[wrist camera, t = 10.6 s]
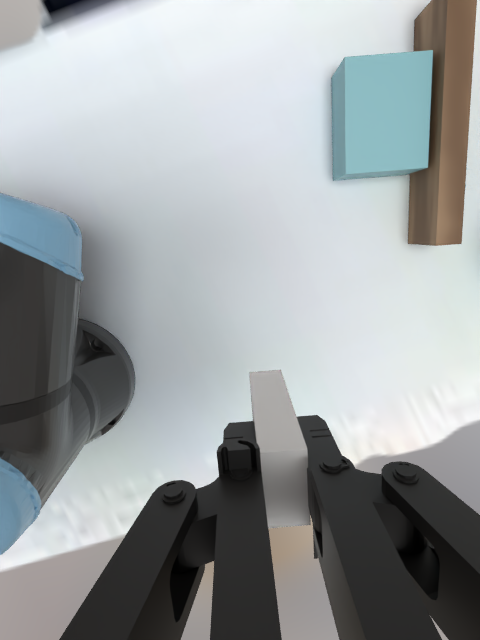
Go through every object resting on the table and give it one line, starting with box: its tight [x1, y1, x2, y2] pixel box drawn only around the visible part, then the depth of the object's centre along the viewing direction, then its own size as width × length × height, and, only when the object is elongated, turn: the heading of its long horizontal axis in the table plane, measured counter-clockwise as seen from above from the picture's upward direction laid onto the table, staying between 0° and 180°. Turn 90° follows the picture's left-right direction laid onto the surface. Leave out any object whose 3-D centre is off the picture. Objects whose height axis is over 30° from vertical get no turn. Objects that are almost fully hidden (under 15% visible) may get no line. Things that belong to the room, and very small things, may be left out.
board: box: [408, 0, 477, 246], centre depth 37 cm, size 2×22×6 cm, turn 5°
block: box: [331, 50, 433, 181], centre depth 37 cm, size 8×10×5 cm
